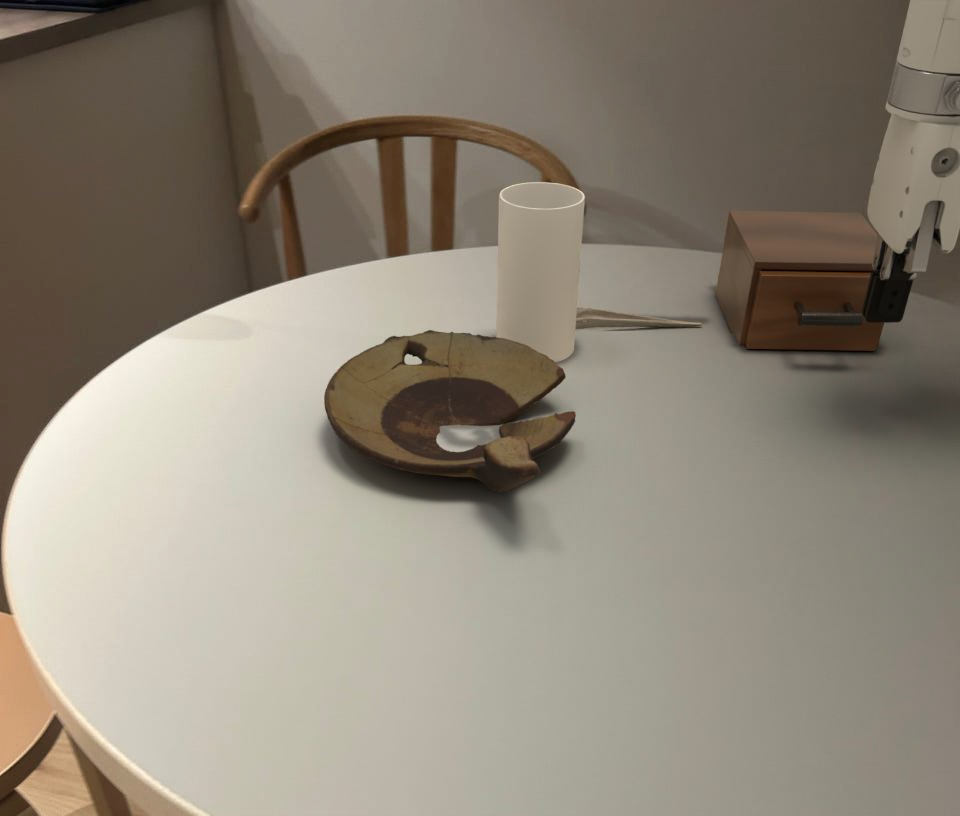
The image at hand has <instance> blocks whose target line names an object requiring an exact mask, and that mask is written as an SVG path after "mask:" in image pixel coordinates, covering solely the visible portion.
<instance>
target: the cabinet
mask: <svg viewBox="0 0 960 816" xmlns="http://www.w3.org/2000/svg"><path fill="white" fill-rule="evenodd" d="M877 237H878V235H877V232H876V230H874V228H873V226H871V225H870V223H869V222H868V221H867V220H866V219H865V217H864V216H863V215H862V213H861V212H846V211H843V212H842V211H841V212H840V211H785V210H784V211H782V210H781V211H780V210H779V211H777V210H729V211H728V217H727V223H726V229H725V235H724V241H723V248H722V254H721V257H720V258H721V259H720V265H719V271H718V277H717V283H716V288H715V289H716V290H715V297H716V299H717V301H718V304H719V307H720V309H721V312H722V314H723V317H724V319H725V322H726V324H727V327H728V330H729V332H730V334H734V336H735V339H736V341H737V344H738V346H743V347H745V346H746V344H745V343H746V338H747V333H748V328H749V322H750V317H751V312H752V307H753V302H754V296H755V291H756V286H757V281H758V276H759V271H761V269H767V270H829V271H878V270H873V266H872V264H873V258H874V253H875V248H876V242H877ZM884 325H885V323H883V324H882V328H881V331H880V335H879V338H878V342H877V345H876V349H877V348H878V346H879V343H880V339H881V336H882V333H883V329H884Z"/></svg>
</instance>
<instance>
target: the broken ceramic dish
mask: <svg viewBox="0 0 960 816" xmlns="http://www.w3.org/2000/svg"><path fill="white" fill-rule="evenodd" d="M407 355H409V356H412V357H413V358H414V357H415V358H418V359H419V360H420V361H421V362H420V363H418V364H417V363H416V364H409V363H408V364H407V363H406V360H405V358H406V356H407ZM565 379H566V373H565V371H564V368H562V367H561V366H560V365H558V364H556V362H554V361H553V360H552V359H550V358H549V357H548V356H547V355H544V354H541V353H539V352H537V351H536V350H534V349H532V348H530V347H529V346H527V345H524V344H521V343H519V342H515V341H511V340H508V339H504V338H498V337H496V336H488V335H481V334H472V333H471V332H453V331H450V332H445V331H438V330H437V331H436V330H432V329H428V330H425V331H424V332H420V333H416V334H412V335H402V336H396V335H392V336H389V337H387V338H386V339H385V340H384V341H383V342H381V343H379V344H375V345H374V346H372V347H371V346H370V347H369V348H367V349H364V350H363V351H361V352H360V353H358V354H357V355H354V356H353V357H350V359H348V360H347V361H346V362H344V363H343V364H342V365H340V367H339V368H338V369H337V370H336V371H335V372H334V373H333V375H332V376H331V378H330V379H329V381H328V383H327V386H326V388H325V390H324V396H323V401H324V402H323V404H324V410H325V413H326V416H327V419H328V421H329V424H330V427H331V428H332V430H333V431H334V433H335V435H336V436H337V437H338V438H339V439H340V440H341V441H342V442H343V443H344V444H345V445H346V446H348V447H349V448H350V449H351V450H353V451H354V452H356V453H357V454H359V455H362V456H363V457H365V458H367V459H369V460H371V461H374V462H376V463H378V464H381V465H384V466H387V467H391V468H394V469H397V470H400V471H406V472H411V473H416V474H424V475H433V476H443V477H444V476H445V477H453V478H473V479H476V480H477V481H479V482H481V483H482V484H484V485H485V486H486V487H487V488H488V489H490V490H491V491H493V492H498V493H499V492H500V493H501V492H509V491H511V490H513V489H515V488H517V487H518V486H520V485H521V484H524V483H525V482H528V481H530V480H532V479H533V478H536V476H538V475H539V474H540V472H541V470H540V467H539V465H538V463H537V462H536V461H535V460H534V459H536V458H537V457H539V456H541V455H543V454H546V453H547V452H549V451H550V450H552V449H553V448H555V447H556V446H557V445H558V444H560V443H561V442H562V441H563V440H564V439H565V438H566V436H567V435H568V434H569V432H570V431H571V430H572V428H573V426H574V425H575V424H576V416H577V415H576V412H575V411H574V410H572V411H564V412H561V413H557V412H555V413H554V414H551V415H549V416H543V417H542V416H539V417H534V418H533V419H525V420H520V421H517V422H510V421H511V420H513V419H515V418H516V417H517V416H518V415H519V414H521V413H523V412H525V411H528V410H529V409H530V408H531V407H532V406H534V405H535V404H536V403H537V402H539V401H540V400H542V399H543V398H545V396H547V395H548V394H550V393H551V392H552V391H553V390H554V389H556V388H557V387H558V386H559V385H561V383H563V381H564V380H565ZM507 422H509V423H507ZM445 426H446V427H448V426H472V427H490V426H499V428H498V432H499V436H500V437H499V438H496V439H493V440H491V441H488V443H486V444H477V445H476V446H474V447H473V448H470V449H467V450H464V451H450V450H447V449H445V448H443V447H441V446H440V444H439V443H438V441H437V439H438V435H439V434H440V433H441V427H445Z"/></svg>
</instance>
